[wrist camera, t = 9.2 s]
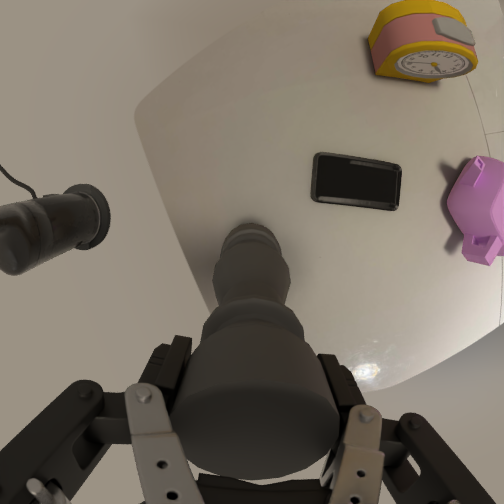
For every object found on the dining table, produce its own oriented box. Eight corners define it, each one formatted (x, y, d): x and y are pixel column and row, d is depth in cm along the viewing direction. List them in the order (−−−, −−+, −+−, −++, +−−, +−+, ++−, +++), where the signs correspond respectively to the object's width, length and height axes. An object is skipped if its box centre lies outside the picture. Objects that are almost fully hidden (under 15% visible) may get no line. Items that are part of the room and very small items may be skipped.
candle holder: (234, 285, 33) (210, 490, 9) (214, 234, 32) (124, 394, 8) (286, 266, 33) (358, 458, 9) (268, 214, 31) (327, 340, 7)
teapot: (432, 157, 42) (488, 155, 28) (493, 152, 41) (544, 153, 27) (441, 259, 47) (491, 287, 32) (498, 241, 46) (546, 260, 31)
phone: (397, 211, 43) (311, 201, 43) (394, 210, 45) (310, 201, 44) (402, 164, 42) (315, 150, 41) (399, 164, 43) (313, 150, 42)
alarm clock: (367, 77, 39) (421, 36, 21) (358, 37, 37) (403, -15, 19) (436, 87, 39) (500, 64, 21) (427, 49, 37) (484, 16, 19)
